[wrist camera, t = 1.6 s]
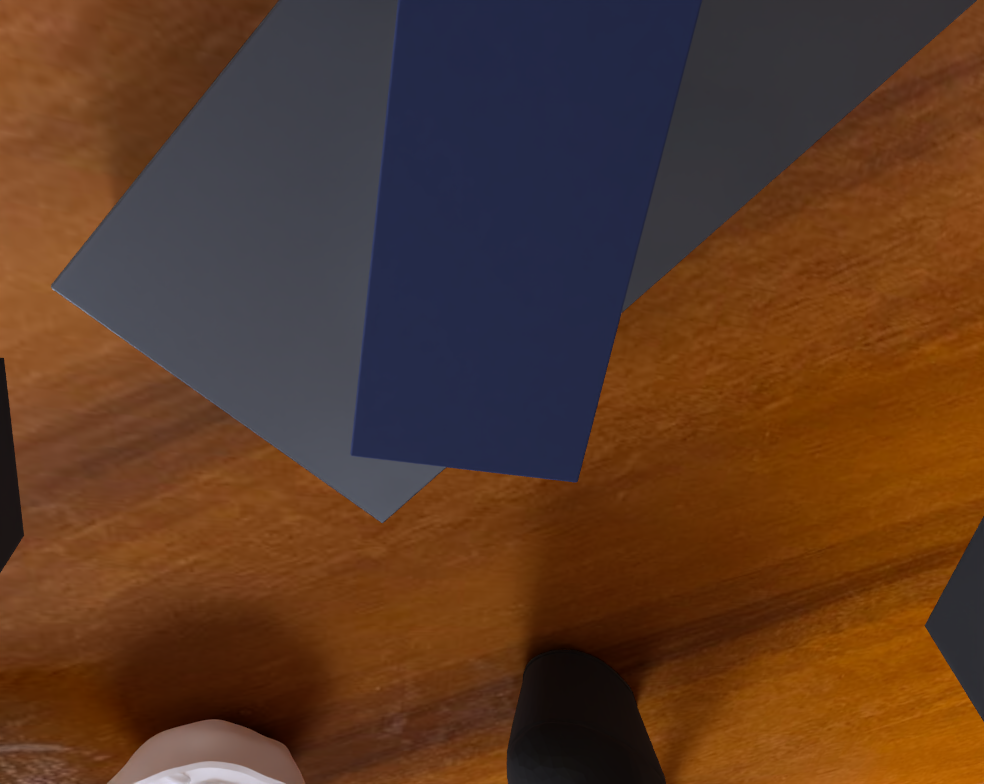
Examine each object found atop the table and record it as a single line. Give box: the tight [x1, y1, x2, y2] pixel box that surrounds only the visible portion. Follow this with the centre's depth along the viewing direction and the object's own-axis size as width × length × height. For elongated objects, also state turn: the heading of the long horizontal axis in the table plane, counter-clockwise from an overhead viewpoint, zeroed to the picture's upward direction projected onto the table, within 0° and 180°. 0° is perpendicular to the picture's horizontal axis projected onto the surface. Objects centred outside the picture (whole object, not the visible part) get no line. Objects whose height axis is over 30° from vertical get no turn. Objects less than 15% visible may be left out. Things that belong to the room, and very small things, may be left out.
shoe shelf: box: [51, 0, 977, 523], centre depth 30 cm, size 26×14×6 cm, turn 136°
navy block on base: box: [350, 0, 702, 482], centre depth 23 cm, size 14×6×9 cm, turn 171°
